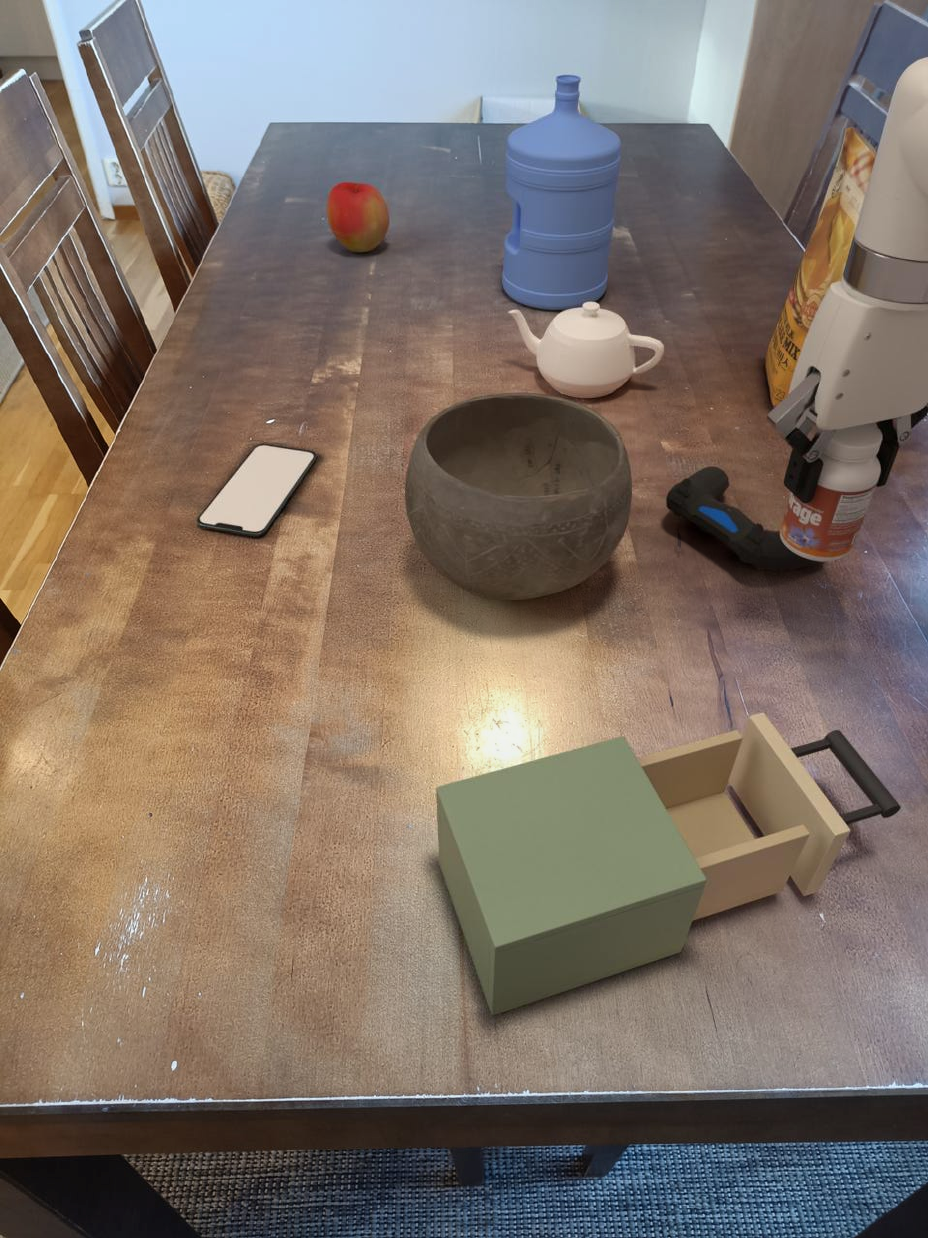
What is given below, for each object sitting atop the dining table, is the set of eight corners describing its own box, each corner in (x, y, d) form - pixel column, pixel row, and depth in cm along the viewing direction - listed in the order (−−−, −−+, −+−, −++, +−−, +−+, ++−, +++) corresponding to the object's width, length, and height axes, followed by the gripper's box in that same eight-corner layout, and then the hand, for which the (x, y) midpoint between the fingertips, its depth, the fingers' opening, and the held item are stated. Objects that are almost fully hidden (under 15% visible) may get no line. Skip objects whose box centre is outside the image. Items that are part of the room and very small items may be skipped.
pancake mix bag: (810, 351, 121) (877, 122, 101) (828, 428, 107) (909, 180, 88) (759, 348, 121) (815, 119, 102) (770, 423, 108) (837, 176, 88)
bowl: (550, 484, 99) (560, 359, 89) (662, 597, 86) (689, 467, 75) (376, 539, 92) (364, 411, 82) (469, 672, 79) (469, 539, 69)
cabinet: (609, 813, 69) (624, 735, 62) (681, 952, 61) (707, 879, 54) (439, 863, 66) (435, 786, 59) (491, 1016, 58) (494, 947, 51)
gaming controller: (688, 508, 100) (639, 498, 93) (715, 462, 98) (666, 448, 90) (811, 589, 90) (766, 585, 83) (843, 540, 88) (800, 532, 81)
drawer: (809, 756, 71) (837, 691, 66) (893, 867, 64) (932, 804, 59) (593, 819, 67) (604, 755, 62) (657, 945, 60) (676, 886, 55)
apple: (334, 263, 142) (327, 197, 135) (328, 240, 149) (321, 176, 142) (394, 258, 143) (390, 192, 136) (386, 235, 150) (382, 172, 143)
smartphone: (257, 446, 105) (193, 527, 94) (257, 442, 105) (192, 523, 93) (320, 455, 103) (262, 539, 92) (320, 451, 103) (261, 535, 92)
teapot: (491, 389, 114) (492, 312, 107) (520, 345, 122) (523, 272, 115) (646, 417, 109) (659, 339, 102) (666, 370, 117) (679, 294, 110)
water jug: (622, 281, 137) (648, 71, 117) (577, 322, 127) (597, 101, 108) (532, 260, 143) (542, 57, 123) (482, 297, 133) (485, 83, 113)
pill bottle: (765, 526, 80) (795, 415, 72) (827, 515, 81) (863, 405, 73) (801, 569, 75) (837, 457, 68) (866, 557, 76) (909, 445, 69)
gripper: (969, 233, 66) (892, 443, 78) (763, 264, 62) (716, 481, 75) (1046, 271, 61) (951, 490, 73) (827, 308, 57) (766, 533, 69)
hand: (833, 484), depth 74 cm, fingers closed on pill bottle, 6 cm apart
